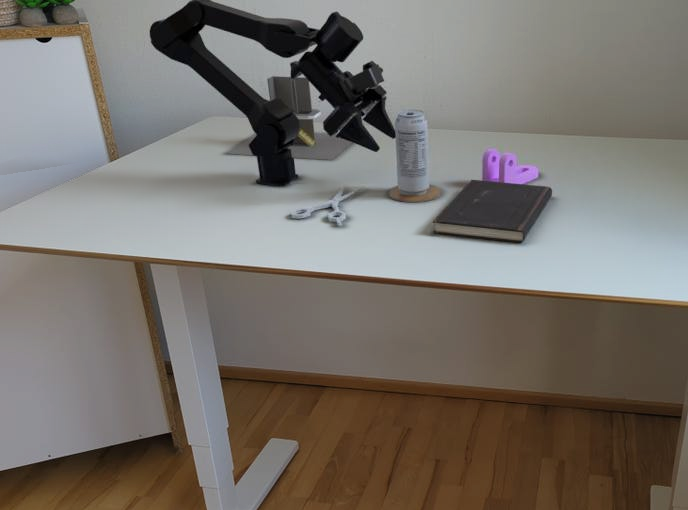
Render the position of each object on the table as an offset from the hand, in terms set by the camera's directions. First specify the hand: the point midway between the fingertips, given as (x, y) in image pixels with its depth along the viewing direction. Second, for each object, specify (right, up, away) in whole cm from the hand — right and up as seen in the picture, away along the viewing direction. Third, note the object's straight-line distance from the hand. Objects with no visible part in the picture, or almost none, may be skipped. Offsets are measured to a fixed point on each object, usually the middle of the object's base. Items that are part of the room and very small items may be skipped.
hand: (387, 143), depth 151 cm
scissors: (-10, -12, -2) cm, 16 cm away
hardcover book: (+20, -15, -7) cm, 26 cm away
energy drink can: (+5, -8, +4) cm, 10 cm away
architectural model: (-24, +9, +33) cm, 42 cm away
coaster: (+5, -9, +4) cm, 11 cm away
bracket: (+25, -5, +10) cm, 27 cm away
